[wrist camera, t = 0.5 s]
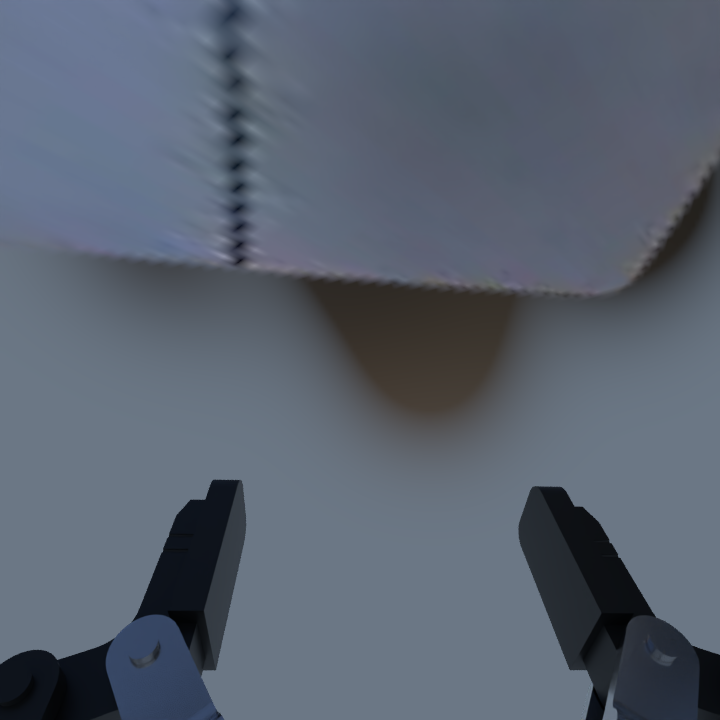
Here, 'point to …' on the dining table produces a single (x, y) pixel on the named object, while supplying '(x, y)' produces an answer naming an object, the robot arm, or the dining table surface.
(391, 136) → the dining table surface
